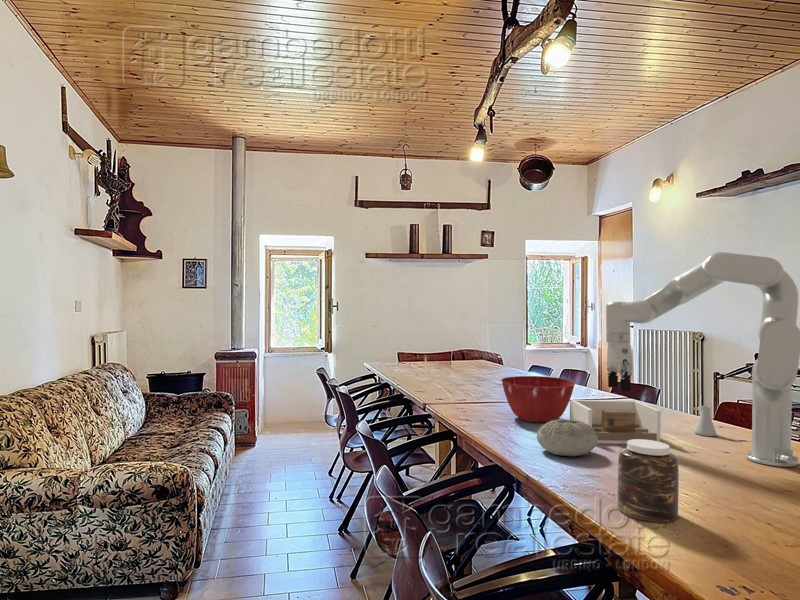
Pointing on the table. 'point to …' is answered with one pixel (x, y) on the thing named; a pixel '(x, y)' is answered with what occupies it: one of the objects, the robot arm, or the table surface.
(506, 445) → the table surface
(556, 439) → the decorative shell
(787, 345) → the robot arm
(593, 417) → the open white box
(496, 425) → the table surface
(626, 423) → the cardboard box
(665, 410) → the table surface
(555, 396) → the mixing bowl
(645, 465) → the jar
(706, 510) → the table surface
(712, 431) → the flask
